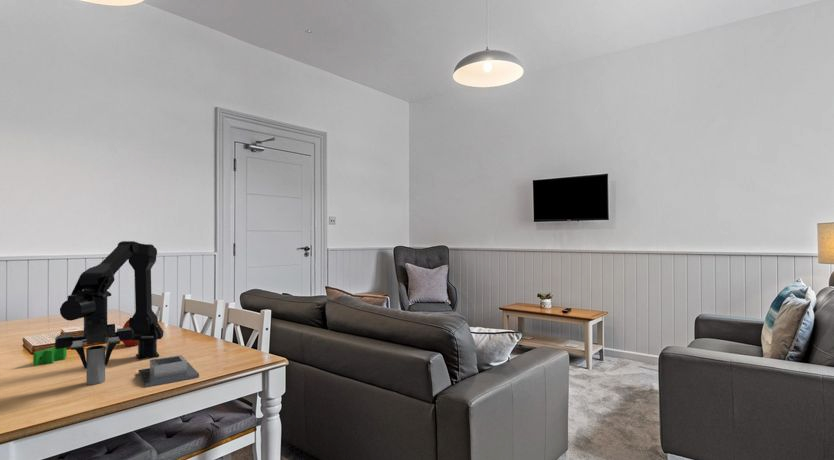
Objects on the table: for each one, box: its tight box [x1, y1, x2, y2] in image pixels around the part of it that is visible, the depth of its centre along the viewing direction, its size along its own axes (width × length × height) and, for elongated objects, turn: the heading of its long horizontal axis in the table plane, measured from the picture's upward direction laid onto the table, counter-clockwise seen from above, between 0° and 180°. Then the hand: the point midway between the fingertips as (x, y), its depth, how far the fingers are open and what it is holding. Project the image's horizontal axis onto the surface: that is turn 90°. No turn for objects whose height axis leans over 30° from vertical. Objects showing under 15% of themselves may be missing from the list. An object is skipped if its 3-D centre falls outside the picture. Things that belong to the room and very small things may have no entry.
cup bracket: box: [138, 354, 200, 388], centre depth 140 cm, size 16×14×4 cm
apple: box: [122, 319, 138, 347], centre depth 177 cm, size 8×8×11 cm
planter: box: [85, 344, 106, 386], centre depth 134 cm, size 4×4×10 cm
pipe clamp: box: [32, 346, 67, 367], centre depth 156 cm, size 11×4×5 cm, turn 173°
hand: (95, 366), depth 134 cm, fingers closed on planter, 4 cm apart
